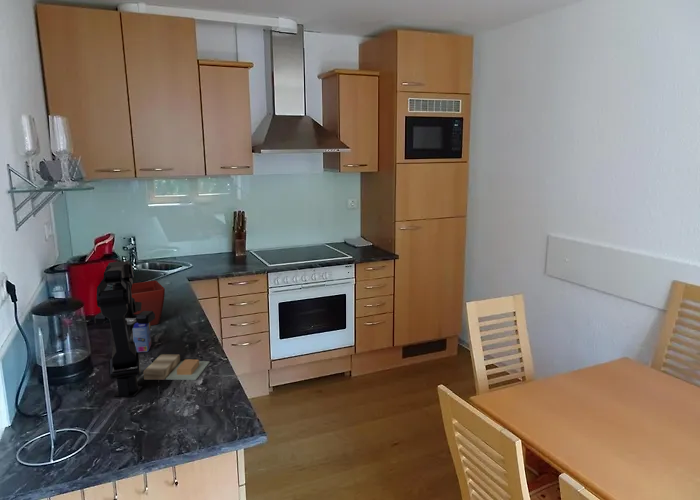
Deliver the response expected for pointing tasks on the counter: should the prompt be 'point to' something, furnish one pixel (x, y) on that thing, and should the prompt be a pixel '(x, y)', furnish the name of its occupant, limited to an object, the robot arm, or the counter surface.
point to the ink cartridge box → (142, 337)
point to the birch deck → (162, 367)
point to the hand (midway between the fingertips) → (127, 340)
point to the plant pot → (149, 298)
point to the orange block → (187, 367)
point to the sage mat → (194, 375)
